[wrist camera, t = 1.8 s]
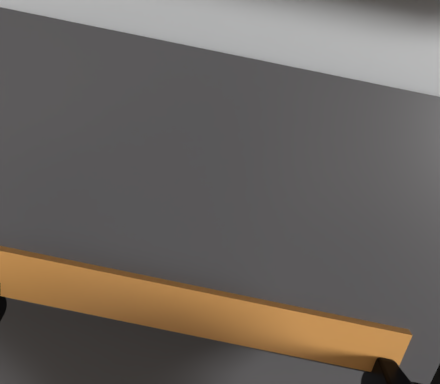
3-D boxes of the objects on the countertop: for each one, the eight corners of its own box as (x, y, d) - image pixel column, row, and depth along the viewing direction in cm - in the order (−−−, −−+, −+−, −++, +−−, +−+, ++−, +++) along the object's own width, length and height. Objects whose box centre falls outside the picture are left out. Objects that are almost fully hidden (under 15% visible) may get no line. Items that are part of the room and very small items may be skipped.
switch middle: (519, 114, 8) (565, 122, 7) (411, 355, 10) (433, 392, 9) (-41, 0, 8) (-89, -11, 7) (-33, 263, 10) (-69, 289, 9)
